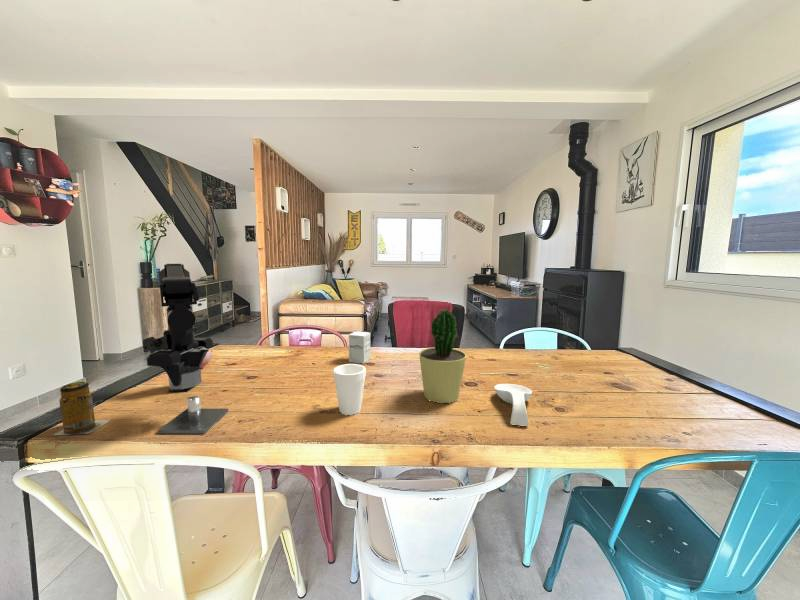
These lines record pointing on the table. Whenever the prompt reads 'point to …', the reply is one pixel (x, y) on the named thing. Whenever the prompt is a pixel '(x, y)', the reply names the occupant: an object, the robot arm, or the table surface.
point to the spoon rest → (515, 401)
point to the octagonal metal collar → (188, 378)
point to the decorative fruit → (206, 359)
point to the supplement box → (359, 347)
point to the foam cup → (349, 387)
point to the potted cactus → (442, 361)
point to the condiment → (77, 410)
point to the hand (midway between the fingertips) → (185, 380)
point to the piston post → (193, 419)
